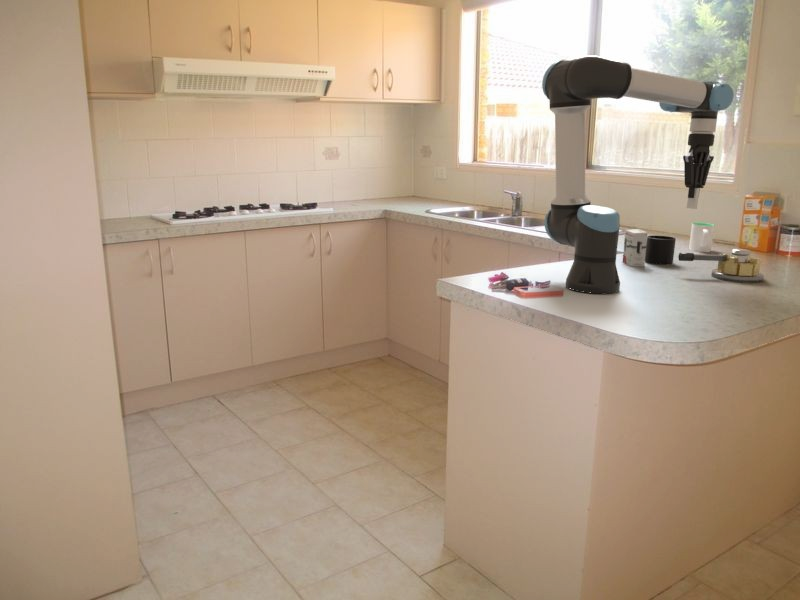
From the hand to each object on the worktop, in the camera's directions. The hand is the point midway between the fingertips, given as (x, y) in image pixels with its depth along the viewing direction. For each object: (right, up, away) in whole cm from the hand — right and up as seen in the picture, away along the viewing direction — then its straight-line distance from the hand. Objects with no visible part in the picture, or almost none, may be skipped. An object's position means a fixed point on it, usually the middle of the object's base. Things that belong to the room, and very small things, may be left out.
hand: (691, 208), depth 215 cm
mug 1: (-3, -16, +23) cm, 28 cm away
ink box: (-13, -17, +18) cm, 28 cm away
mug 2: (+25, -10, +49) cm, 56 cm away
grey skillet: (+7, -20, -2) cm, 22 cm away
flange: (+14, -22, -2) cm, 26 cm away
